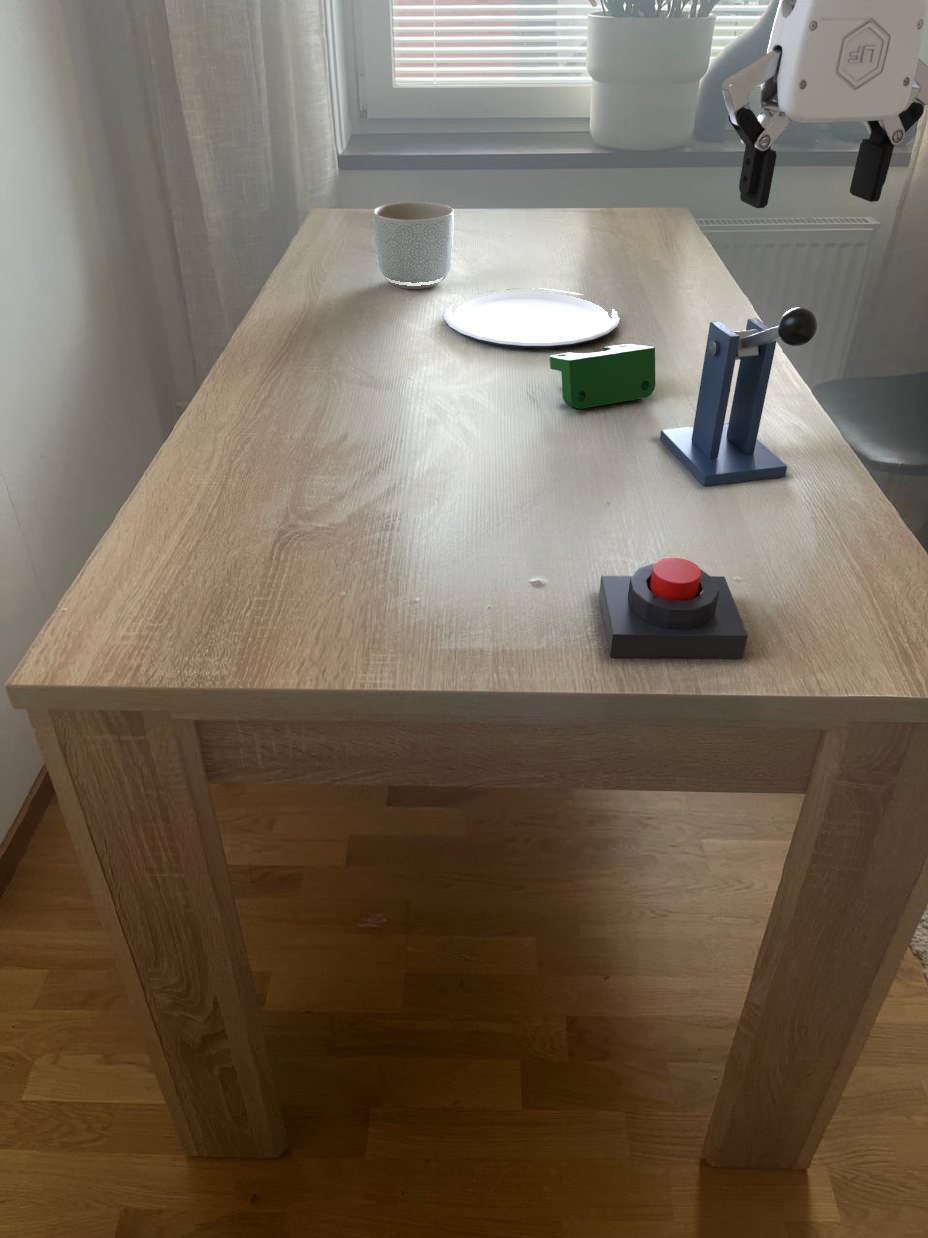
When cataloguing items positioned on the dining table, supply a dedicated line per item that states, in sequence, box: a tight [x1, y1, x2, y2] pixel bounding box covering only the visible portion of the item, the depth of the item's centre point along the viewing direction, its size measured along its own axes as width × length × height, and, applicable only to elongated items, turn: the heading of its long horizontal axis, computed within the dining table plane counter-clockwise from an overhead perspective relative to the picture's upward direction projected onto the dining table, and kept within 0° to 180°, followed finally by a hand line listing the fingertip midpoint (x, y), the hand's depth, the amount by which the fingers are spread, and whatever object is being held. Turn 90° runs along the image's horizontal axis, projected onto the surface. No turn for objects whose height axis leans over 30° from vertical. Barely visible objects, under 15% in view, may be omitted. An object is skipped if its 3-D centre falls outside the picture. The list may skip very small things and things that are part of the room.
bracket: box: [659, 317, 788, 487], centre depth 93 cm, size 11×9×14 cm
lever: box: [734, 307, 818, 361], centre depth 85 cm, size 13×3×3 cm, turn 13°
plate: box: [443, 287, 621, 349], centre depth 131 cm, size 25×25×1 cm
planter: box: [372, 201, 455, 290], centre depth 144 cm, size 12×12×11 cm
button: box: [650, 557, 701, 601], centre depth 70 cm, size 4×4×2 cm
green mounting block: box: [549, 343, 656, 410], centre depth 108 cm, size 12×6×9 cm, turn 106°
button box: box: [598, 562, 748, 660], centre depth 71 cm, size 10×8×4 cm
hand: (808, 200), depth 72 cm, fingers open, 9 cm apart
